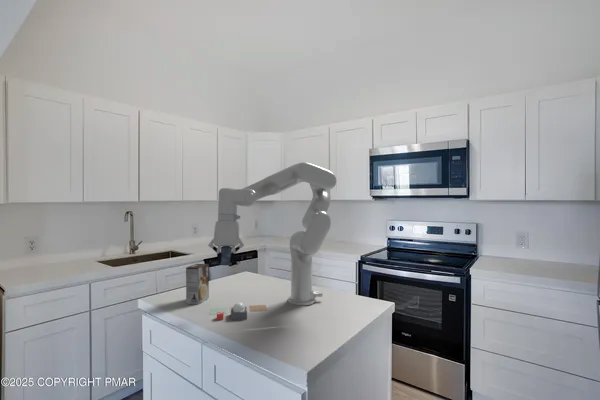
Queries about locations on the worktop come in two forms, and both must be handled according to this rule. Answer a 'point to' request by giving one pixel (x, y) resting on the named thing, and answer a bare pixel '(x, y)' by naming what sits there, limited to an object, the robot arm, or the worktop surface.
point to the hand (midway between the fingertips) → (225, 262)
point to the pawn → (226, 255)
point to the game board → (236, 315)
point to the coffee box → (197, 283)
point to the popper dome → (238, 307)
